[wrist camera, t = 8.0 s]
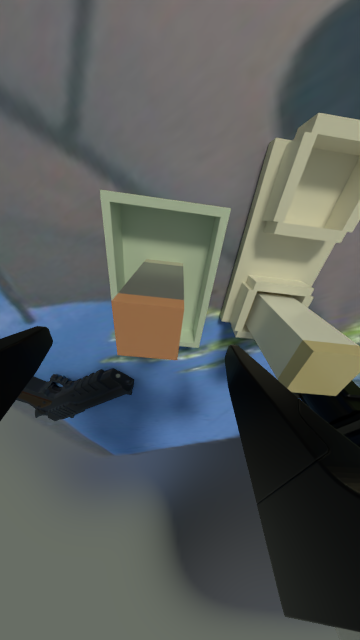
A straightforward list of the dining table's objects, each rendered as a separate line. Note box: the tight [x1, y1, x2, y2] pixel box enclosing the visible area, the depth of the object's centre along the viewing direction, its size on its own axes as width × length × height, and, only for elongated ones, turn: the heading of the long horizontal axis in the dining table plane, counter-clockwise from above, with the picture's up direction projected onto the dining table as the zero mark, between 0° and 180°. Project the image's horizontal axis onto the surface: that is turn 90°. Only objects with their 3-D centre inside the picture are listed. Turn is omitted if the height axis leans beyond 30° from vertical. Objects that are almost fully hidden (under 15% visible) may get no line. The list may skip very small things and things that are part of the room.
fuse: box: [245, 291, 360, 396], centre depth 14 cm, size 4×4×9 cm
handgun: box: [16, 369, 134, 421], centre depth 26 cm, size 3×20×15 cm
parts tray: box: [100, 190, 231, 348], centre depth 16 cm, size 13×9×3 cm
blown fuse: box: [111, 259, 184, 360], centre depth 13 cm, size 4×4×9 cm
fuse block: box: [220, 113, 360, 339], centre depth 15 cm, size 16×8×3 cm, turn 173°
